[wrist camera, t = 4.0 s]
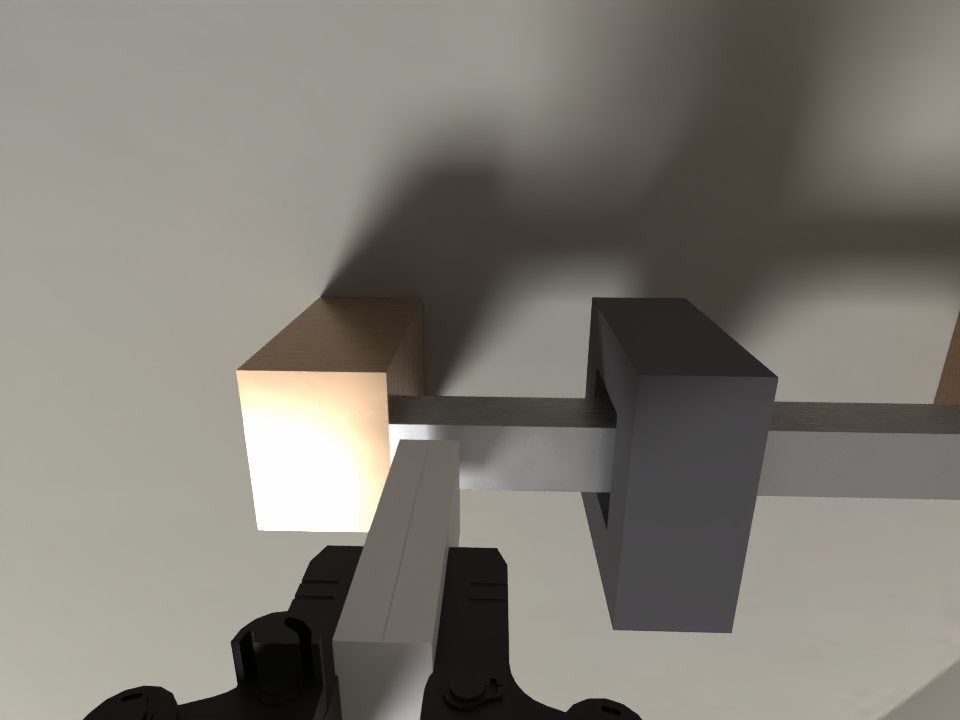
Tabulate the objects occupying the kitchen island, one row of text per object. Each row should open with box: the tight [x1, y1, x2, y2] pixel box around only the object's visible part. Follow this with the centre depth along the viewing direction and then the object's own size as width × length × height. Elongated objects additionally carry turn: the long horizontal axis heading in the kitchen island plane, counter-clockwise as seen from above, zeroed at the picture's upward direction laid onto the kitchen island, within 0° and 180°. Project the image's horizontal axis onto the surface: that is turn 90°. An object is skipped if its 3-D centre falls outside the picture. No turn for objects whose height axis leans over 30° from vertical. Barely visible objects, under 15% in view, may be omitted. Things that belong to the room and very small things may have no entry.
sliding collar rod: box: [236, 298, 960, 532], centre depth 20 cm, size 5×28×8 cm, turn 90°
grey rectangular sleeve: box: [581, 297, 778, 633], centre depth 18 cm, size 7×3×7 cm, turn 0°
